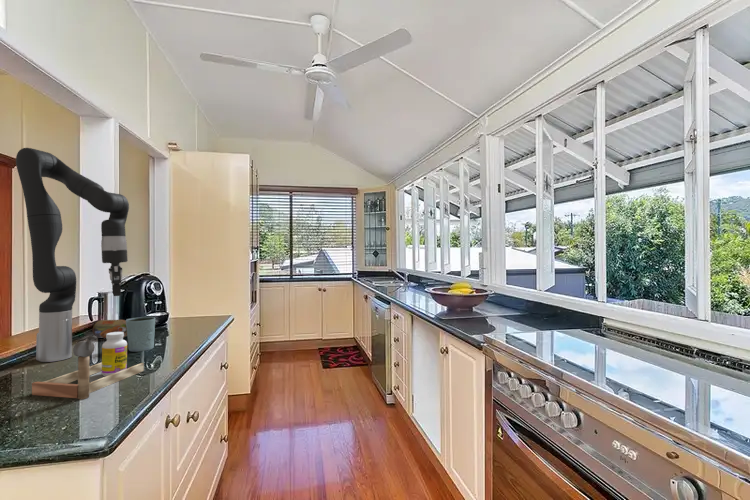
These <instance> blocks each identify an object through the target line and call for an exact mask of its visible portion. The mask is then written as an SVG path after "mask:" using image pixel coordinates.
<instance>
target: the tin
mask: <svg viewBox="0 0 750 500" xmlns="http://www.w3.org/2000/svg"><path fill="white" fill-rule="evenodd" d="M111 332H124V336H123V338H125V337H127V327H126V320H125V319H101V320H98V321H96V322H95V323H94V324H93V327H92V334H93V336H96V337H97V339H98V338H106V334H107V333H111Z"/></svg>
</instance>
